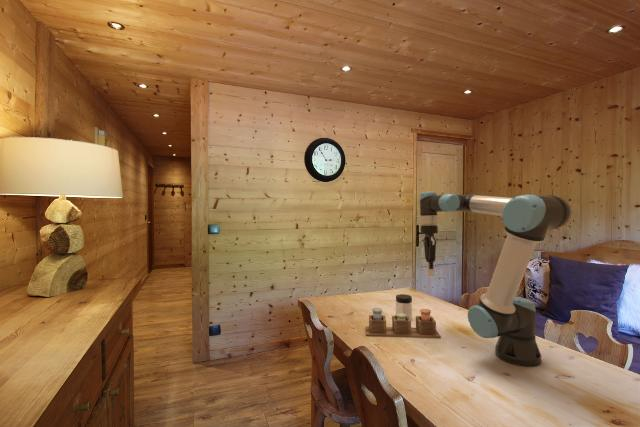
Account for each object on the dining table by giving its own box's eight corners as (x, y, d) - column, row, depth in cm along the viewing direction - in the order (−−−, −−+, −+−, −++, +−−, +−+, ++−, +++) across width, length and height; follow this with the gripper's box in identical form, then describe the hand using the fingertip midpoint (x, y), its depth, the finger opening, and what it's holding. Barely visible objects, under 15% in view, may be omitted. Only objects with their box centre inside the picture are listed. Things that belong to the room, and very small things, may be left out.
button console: (440, 338, 142) (440, 323, 141) (366, 336, 145) (365, 321, 145) (435, 329, 152) (435, 315, 151) (365, 327, 155) (365, 314, 155)
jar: (415, 319, 166) (415, 296, 166) (406, 323, 161) (406, 299, 161) (401, 315, 173) (401, 293, 173) (392, 318, 168) (392, 295, 168)
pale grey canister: (382, 325, 147) (382, 311, 147) (372, 325, 148) (372, 310, 147) (381, 322, 152) (381, 307, 151) (372, 321, 152) (372, 307, 152)
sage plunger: (407, 331, 146) (407, 316, 146) (396, 330, 146) (396, 316, 146) (405, 327, 150) (405, 312, 150) (395, 327, 151) (395, 312, 151)
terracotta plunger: (431, 326, 145) (431, 312, 144) (421, 326, 145) (421, 311, 145) (429, 323, 149) (429, 308, 149) (419, 323, 150) (419, 308, 150)
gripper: (441, 225, 142) (443, 278, 141) (433, 224, 155) (434, 273, 154) (424, 225, 142) (426, 278, 142) (417, 224, 155) (418, 273, 155)
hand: (430, 275), depth 148 cm, fingers closed
